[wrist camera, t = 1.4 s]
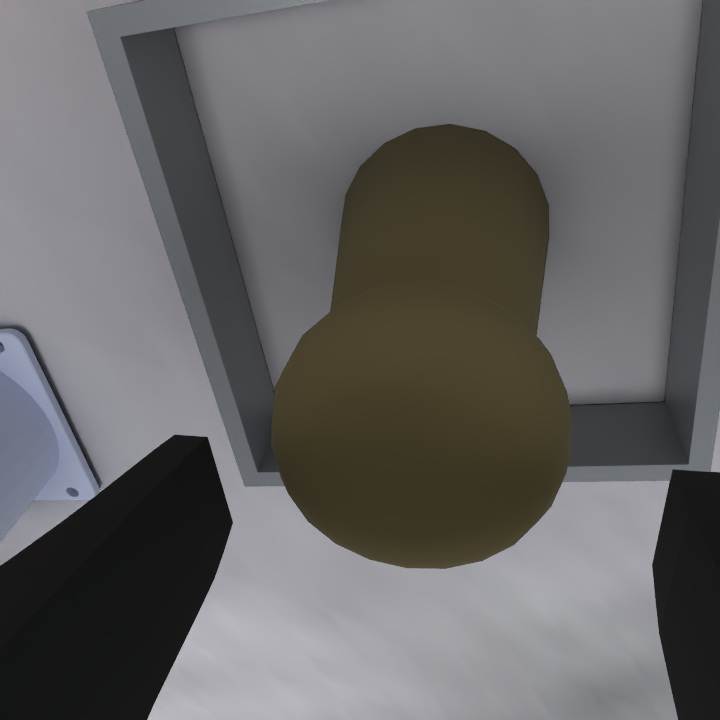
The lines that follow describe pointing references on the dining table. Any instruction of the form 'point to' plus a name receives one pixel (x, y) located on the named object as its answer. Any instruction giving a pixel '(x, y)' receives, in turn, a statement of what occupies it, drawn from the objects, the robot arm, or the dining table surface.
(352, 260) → the cork
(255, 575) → the dining table surface
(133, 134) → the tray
